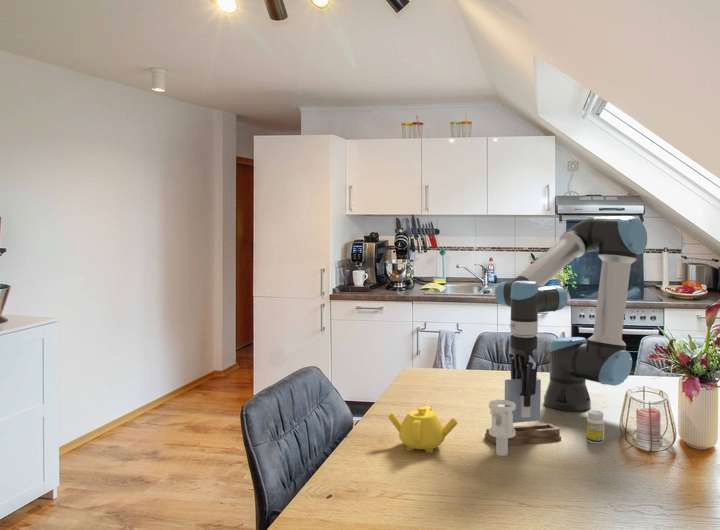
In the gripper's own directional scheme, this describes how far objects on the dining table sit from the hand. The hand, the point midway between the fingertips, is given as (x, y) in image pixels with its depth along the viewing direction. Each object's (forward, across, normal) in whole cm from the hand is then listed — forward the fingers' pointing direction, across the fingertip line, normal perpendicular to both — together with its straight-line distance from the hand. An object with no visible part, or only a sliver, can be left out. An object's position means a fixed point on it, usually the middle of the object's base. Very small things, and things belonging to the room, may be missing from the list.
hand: (522, 415), depth 179 cm
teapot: (+7, -1, -30) cm, 31 cm away
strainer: (+7, +9, -11) cm, 16 cm away
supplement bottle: (+7, +7, +19) cm, 22 cm away
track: (+7, 0, 0) cm, 7 cm away
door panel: (+2, 0, 0) cm, 2 cm away
